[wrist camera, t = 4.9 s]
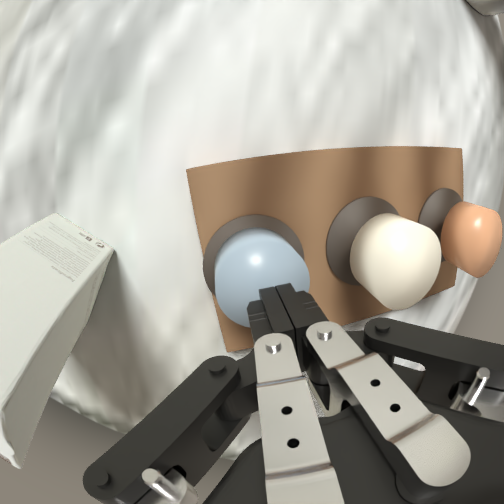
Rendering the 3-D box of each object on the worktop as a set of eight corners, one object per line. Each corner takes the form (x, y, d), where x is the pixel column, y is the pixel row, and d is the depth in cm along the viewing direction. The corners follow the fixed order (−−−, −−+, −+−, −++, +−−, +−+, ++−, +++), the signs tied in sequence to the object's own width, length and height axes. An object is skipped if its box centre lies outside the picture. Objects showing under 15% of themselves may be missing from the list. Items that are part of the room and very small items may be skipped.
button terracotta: (478, 199, 16) (504, 207, 13) (473, 256, 18) (496, 269, 15) (442, 204, 16) (472, 213, 13) (437, 269, 17) (463, 285, 14)
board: (447, 147, 19) (465, 148, 16) (443, 277, 23) (457, 286, 21) (186, 169, 17) (182, 170, 15) (222, 337, 21) (224, 355, 19)
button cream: (413, 208, 15) (444, 219, 12) (409, 278, 17) (435, 297, 14) (348, 219, 15) (376, 233, 12) (349, 296, 17) (372, 320, 14)
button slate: (290, 220, 16) (306, 233, 14) (297, 293, 18) (311, 317, 15) (206, 235, 16) (206, 252, 13) (223, 308, 18) (225, 335, 15)
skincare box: (57, 210, 16) (-101, 301, 2) (120, 249, 18) (-1, 413, 4) (34, 296, 18) (-60, 411, 4) (89, 331, 20) (21, 477, 6)
